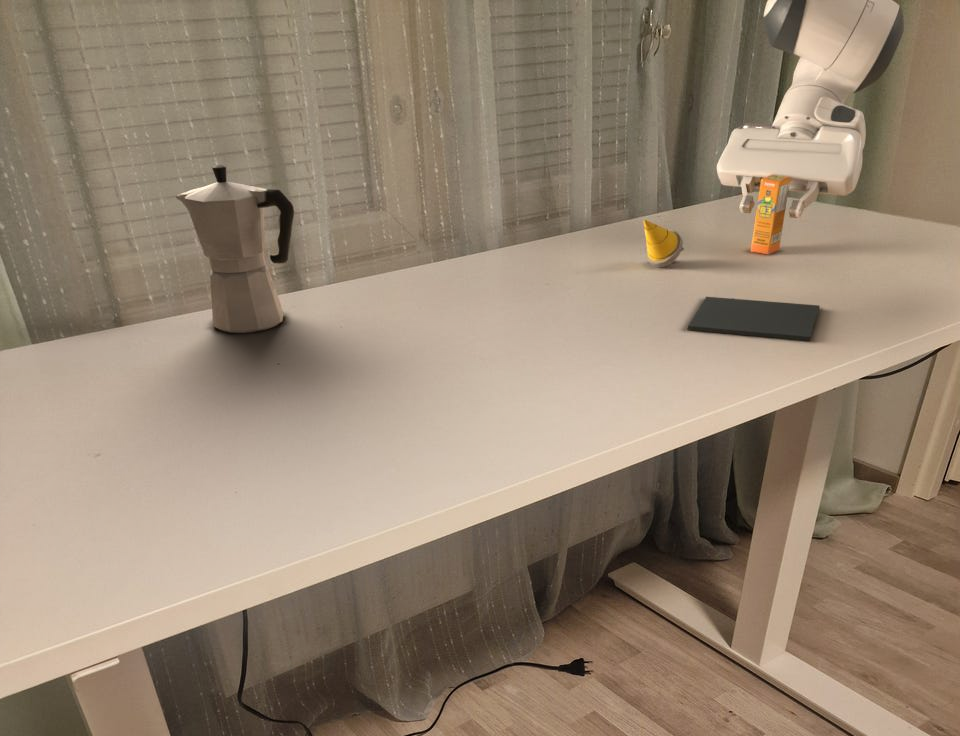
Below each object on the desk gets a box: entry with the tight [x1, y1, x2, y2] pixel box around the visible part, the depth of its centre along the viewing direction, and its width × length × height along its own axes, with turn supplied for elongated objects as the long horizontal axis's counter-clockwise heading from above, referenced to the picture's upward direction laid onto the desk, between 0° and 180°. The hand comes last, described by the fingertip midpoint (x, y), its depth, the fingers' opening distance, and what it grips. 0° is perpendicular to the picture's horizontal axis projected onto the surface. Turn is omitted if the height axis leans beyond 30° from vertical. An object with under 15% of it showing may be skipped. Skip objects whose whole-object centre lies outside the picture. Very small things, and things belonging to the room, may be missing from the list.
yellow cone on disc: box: [643, 219, 685, 268], centre depth 122 cm, size 5×5×10 cm
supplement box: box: [750, 175, 790, 256], centre depth 126 cm, size 3×3×10 cm
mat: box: [687, 296, 820, 342], centre depth 105 cm, size 14×12×1 cm
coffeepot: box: [175, 163, 295, 334], centre depth 105 cm, size 15×9×18 cm, turn 72°
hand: (769, 213), depth 125 cm, fingers open, 6 cm apart
